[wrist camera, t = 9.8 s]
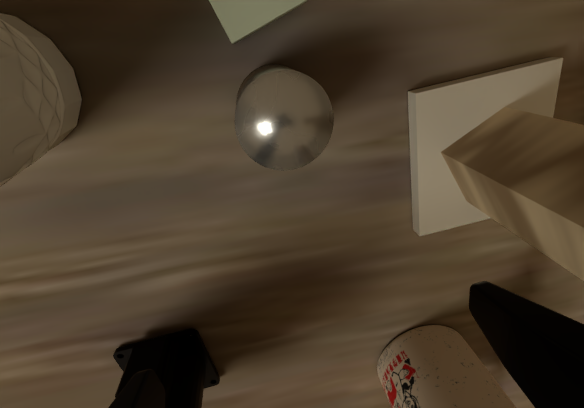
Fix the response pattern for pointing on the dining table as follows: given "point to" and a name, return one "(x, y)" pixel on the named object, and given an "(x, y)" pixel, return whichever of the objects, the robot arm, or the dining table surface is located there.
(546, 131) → the oak block
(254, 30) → the sage cube
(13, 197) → the dining table surface
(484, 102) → the tile
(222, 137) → the dining table surface
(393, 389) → the teacup with lid
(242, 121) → the grey cylinder
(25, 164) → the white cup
